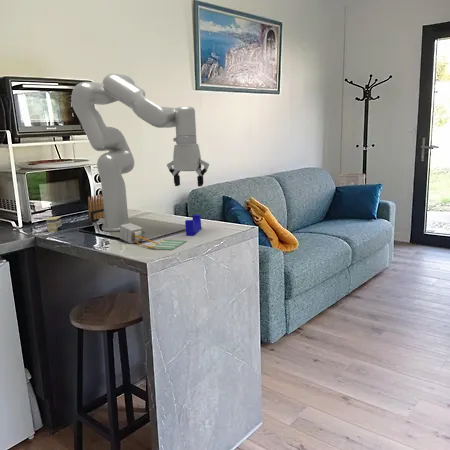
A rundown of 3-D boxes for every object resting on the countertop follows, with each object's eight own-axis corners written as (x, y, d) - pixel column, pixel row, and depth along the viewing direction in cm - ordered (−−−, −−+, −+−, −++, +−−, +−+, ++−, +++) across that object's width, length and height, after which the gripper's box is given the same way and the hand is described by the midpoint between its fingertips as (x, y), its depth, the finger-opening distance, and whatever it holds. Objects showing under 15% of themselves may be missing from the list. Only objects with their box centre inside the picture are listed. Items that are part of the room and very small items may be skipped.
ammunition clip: (105, 218, 215) (103, 193, 212) (108, 218, 214) (106, 193, 211) (88, 222, 206) (85, 196, 203) (91, 223, 205) (88, 196, 202)
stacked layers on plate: (63, 232, 189) (62, 219, 188) (41, 234, 187) (39, 221, 186) (67, 227, 199) (65, 215, 198) (45, 229, 197) (43, 216, 196)
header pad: (146, 248, 157) (146, 247, 157) (163, 240, 168) (163, 239, 168) (171, 250, 154) (171, 249, 153) (186, 241, 164) (186, 240, 164)
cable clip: (190, 229, 185) (189, 214, 184) (201, 229, 184) (200, 214, 183) (182, 236, 174) (181, 220, 172) (193, 236, 173) (192, 220, 172)
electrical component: (172, 254, 158) (173, 241, 157) (159, 258, 154) (159, 244, 152) (129, 234, 173) (130, 221, 171) (116, 237, 169) (116, 224, 167)
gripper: (161, 141, 171) (164, 187, 175) (203, 140, 165) (205, 187, 169) (170, 140, 178) (173, 184, 182) (211, 139, 172) (213, 184, 175)
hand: (188, 185), depth 175 cm, fingers open, 9 cm apart
